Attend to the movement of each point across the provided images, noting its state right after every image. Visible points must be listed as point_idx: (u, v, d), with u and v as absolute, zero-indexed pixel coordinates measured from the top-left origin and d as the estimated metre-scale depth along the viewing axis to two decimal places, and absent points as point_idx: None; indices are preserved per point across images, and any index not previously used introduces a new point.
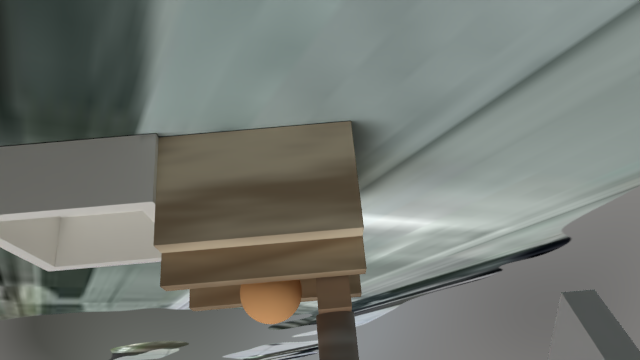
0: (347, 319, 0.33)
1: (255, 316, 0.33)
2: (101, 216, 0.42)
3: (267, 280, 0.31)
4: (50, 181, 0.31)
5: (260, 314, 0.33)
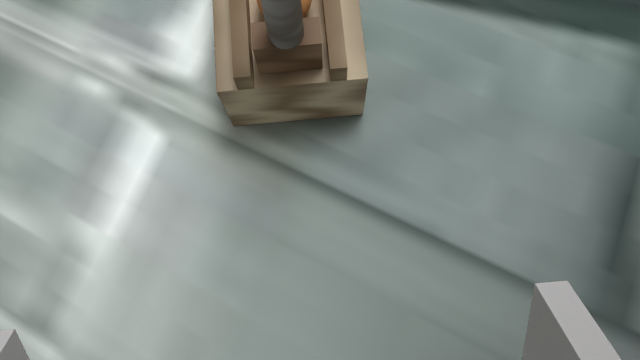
0: (300, 37, 0.35)
1: None
2: None
3: None
4: None
5: None
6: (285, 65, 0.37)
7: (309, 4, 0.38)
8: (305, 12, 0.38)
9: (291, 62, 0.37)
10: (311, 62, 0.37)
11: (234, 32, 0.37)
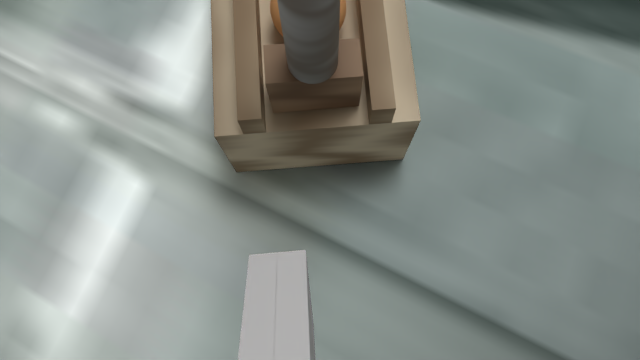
0: (333, 67, 0.24)
1: None
2: None
3: (370, 5, 0.28)
4: None
5: None
6: (308, 102, 0.27)
7: (343, 19, 0.27)
8: None
9: (317, 99, 0.27)
10: (344, 99, 0.27)
11: (239, 56, 0.27)
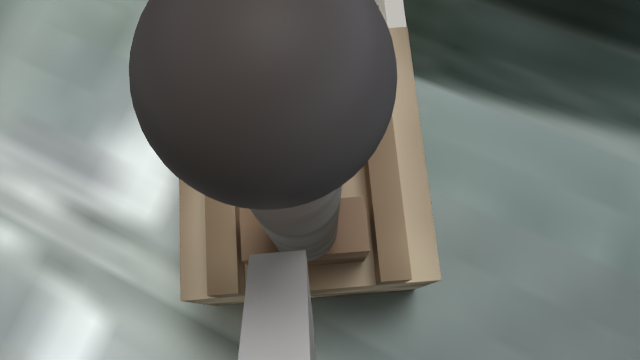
0: (331, 243, 0.18)
1: None
2: None
3: None
4: None
5: None
6: None
7: None
8: None
9: (311, 262, 0.21)
10: (345, 260, 0.21)
11: (211, 207, 0.21)
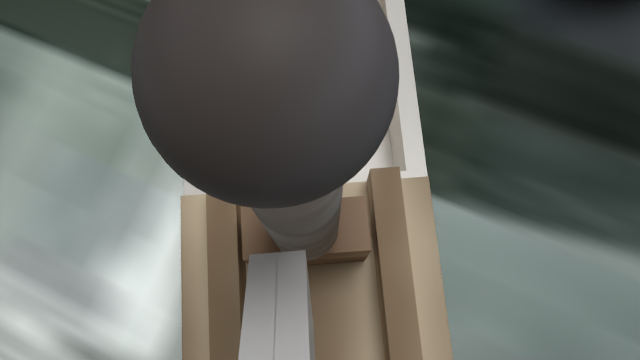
0: (332, 243, 0.18)
1: None
2: None
3: (399, 323, 0.20)
4: None
5: None
6: None
7: None
8: None
9: (312, 261, 0.21)
10: (346, 259, 0.21)
11: None
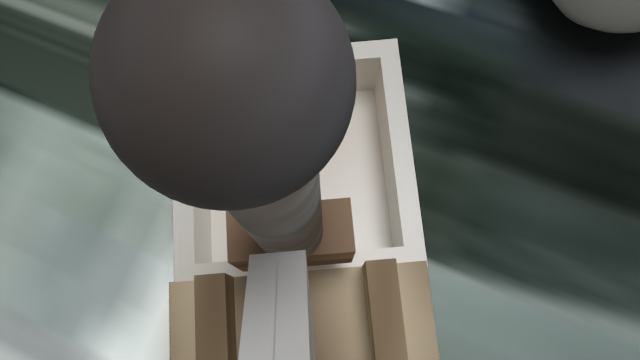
0: (316, 245, 0.19)
1: None
2: None
3: None
4: None
5: None
6: None
7: None
8: None
9: None
10: (332, 261, 0.21)
11: None
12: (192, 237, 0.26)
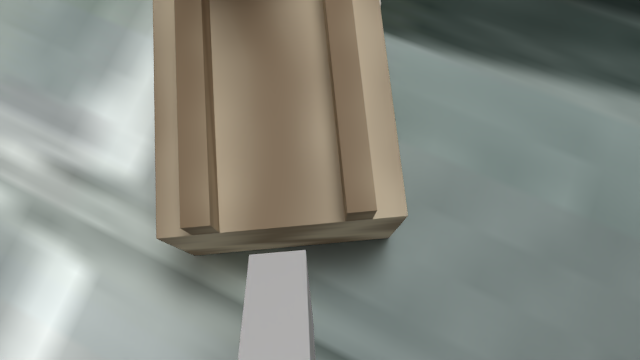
0: None
1: None
2: None
3: (344, 77, 0.23)
4: None
5: None
6: None
7: None
8: None
9: None
10: None
11: (184, 144, 0.22)
12: None
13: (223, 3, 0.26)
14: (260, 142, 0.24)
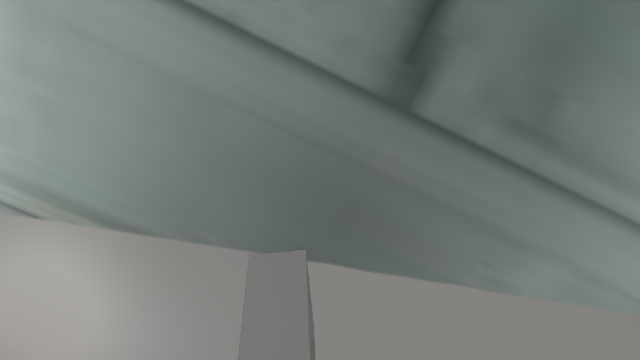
0: None
1: None
2: None
3: None
4: None
5: None
6: None
7: None
8: None
9: None
10: None
11: None
12: None
13: None
14: None
